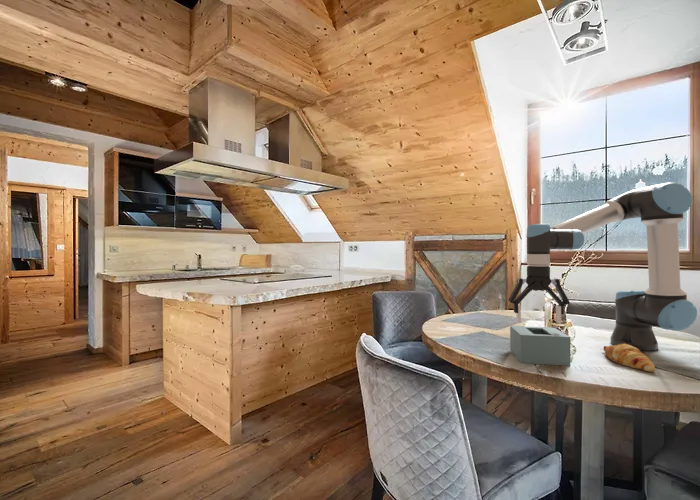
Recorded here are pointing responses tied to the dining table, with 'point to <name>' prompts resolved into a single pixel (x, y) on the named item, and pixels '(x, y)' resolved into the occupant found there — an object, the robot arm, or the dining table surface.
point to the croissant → (629, 357)
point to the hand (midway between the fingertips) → (538, 322)
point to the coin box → (540, 345)
